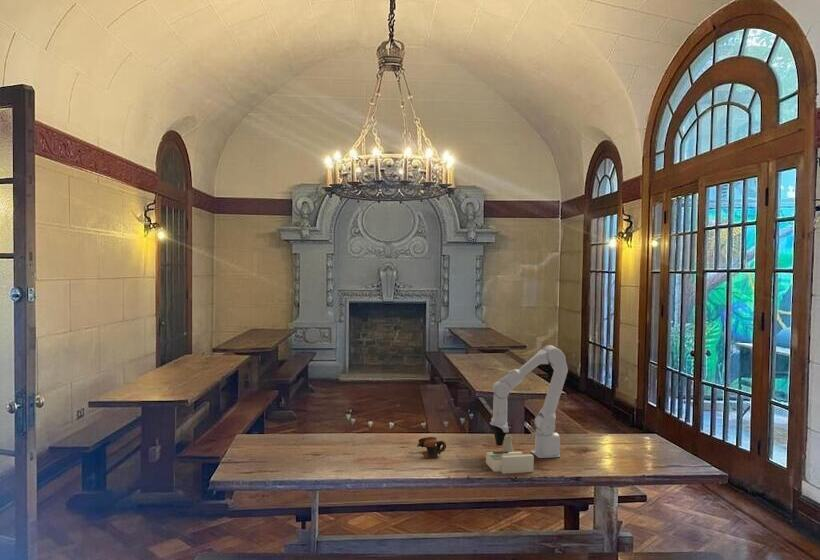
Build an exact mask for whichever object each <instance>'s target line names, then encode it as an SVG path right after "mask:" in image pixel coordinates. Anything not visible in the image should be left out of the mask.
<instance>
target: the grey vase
mask: <svg viewBox="0 0 820 560" xmlns="http://www.w3.org/2000/svg"><path fill="white" fill-rule="evenodd" d="M512 441H513V437H512V436H511V435H505V437H504V443H503V444H504V445H503V448H502V450H501V452H502V451H508V452H515V450H514V448H513V443H512ZM500 457H501V455H500Z"/></svg>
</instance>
